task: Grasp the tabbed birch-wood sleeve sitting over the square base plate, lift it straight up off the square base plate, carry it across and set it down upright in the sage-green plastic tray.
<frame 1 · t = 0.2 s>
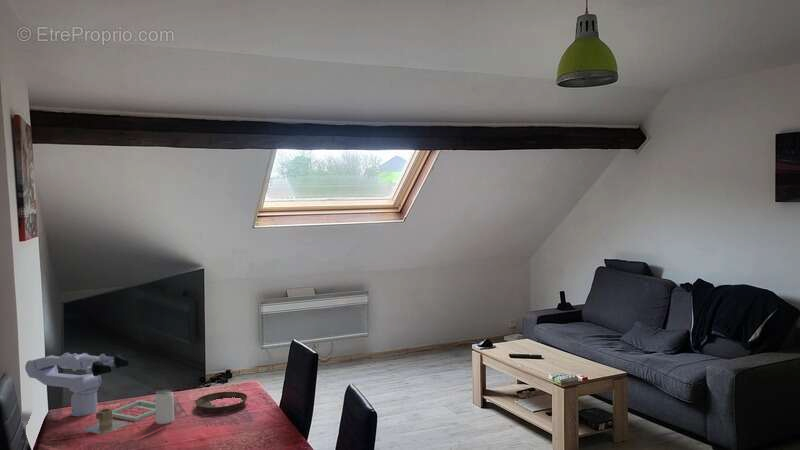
hand: (119, 366, 229), 21 cm above the table, tool horizontal, fingers open, 7 cm apart
square base plate: (106, 428, 221), on the table
plant saucer: (221, 407, 244), on the table
can: (165, 423, 226), on the table
tray: (137, 413, 237), on the table
sleeve: (106, 426, 221), point 1 cm above the table, touching square base plate
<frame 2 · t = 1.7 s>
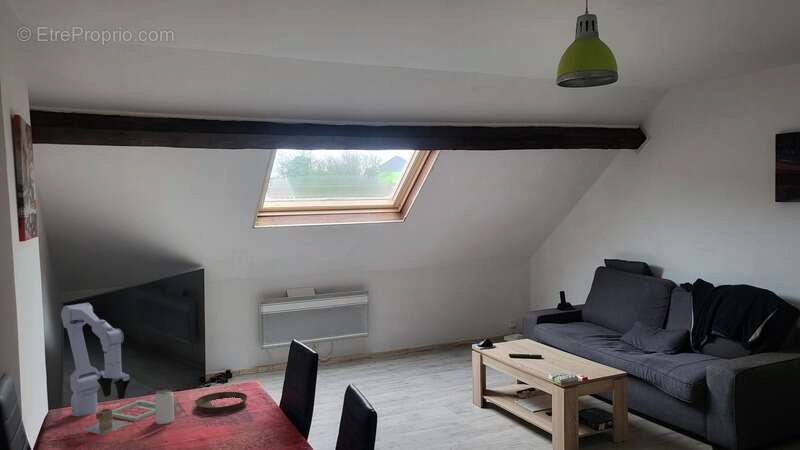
hand: (114, 397, 227), 10 cm above the table, tool pointing down, fingers open, 7 cm apart
nothing on the table moved.
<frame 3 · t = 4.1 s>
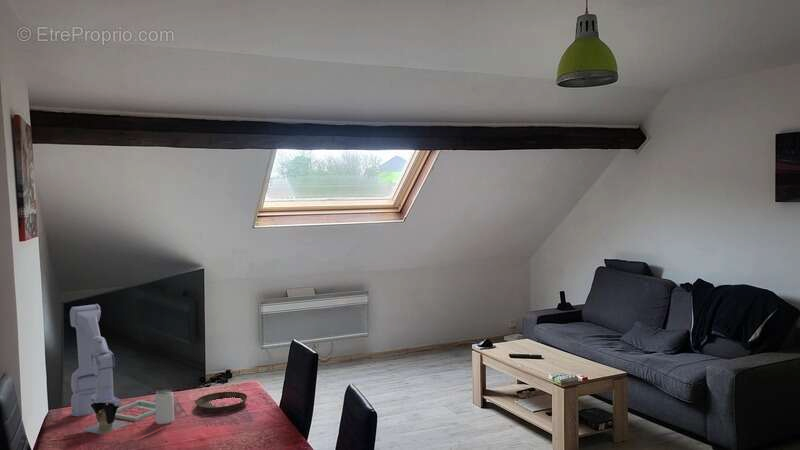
hand: (105, 422, 221), 2 cm above the table, tool pointing down, fingers closed on sleeve, 4 cm apart
sleeve: (106, 426, 221), point 1 cm above the table, touching gripper, square base plate
everything else where it was.
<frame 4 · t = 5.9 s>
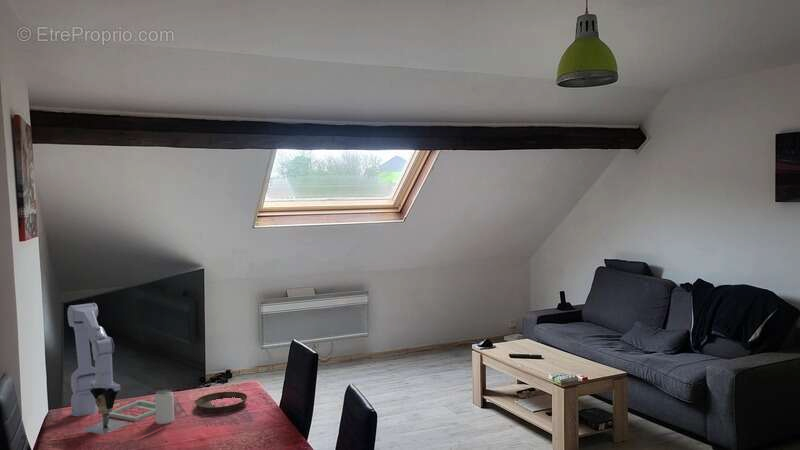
hand: (105, 407, 221), 8 cm above the table, tool pointing down, fingers closed on sleeve, 4 cm apart
sleeve: (105, 411, 221), point 6 cm above the table, touching gripper
everything else where it was.
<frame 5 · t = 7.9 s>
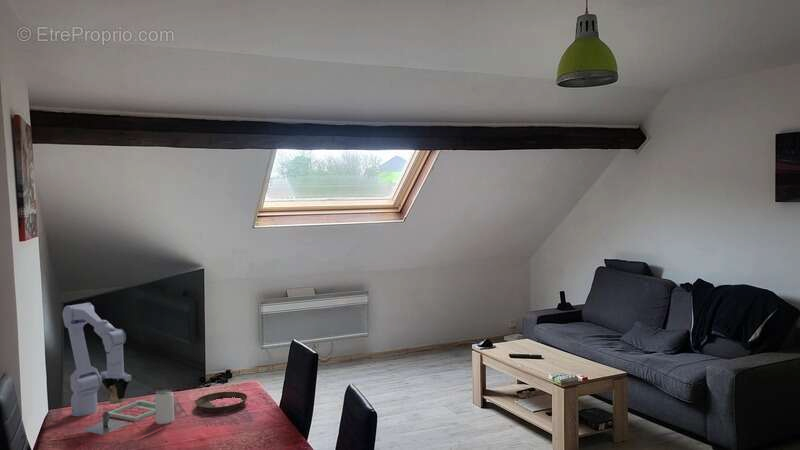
hand: (116, 397, 226), 10 cm above the table, tool pointing down, fingers closed on sleeve, 4 cm apart
sleeve: (116, 401, 226), point 8 cm above the table, touching gripper
everything else where it was.
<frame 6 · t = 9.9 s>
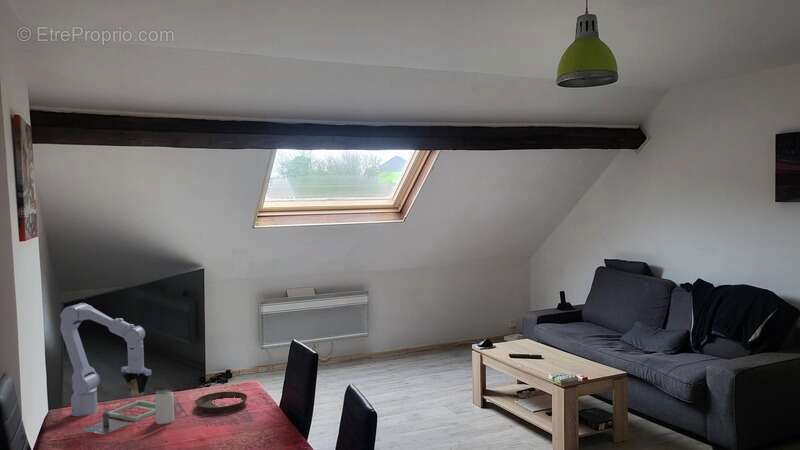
hand: (137, 391, 236), 9 cm above the table, tool pointing down, fingers closed on sleeve, 4 cm apart
sleeve: (137, 395, 236), point 7 cm above the table, touching gripper
everything else where it was.
when the fingers open (4 cm above the table, at t = 11.8 s): sleeve drops 1 cm, resting on tray.
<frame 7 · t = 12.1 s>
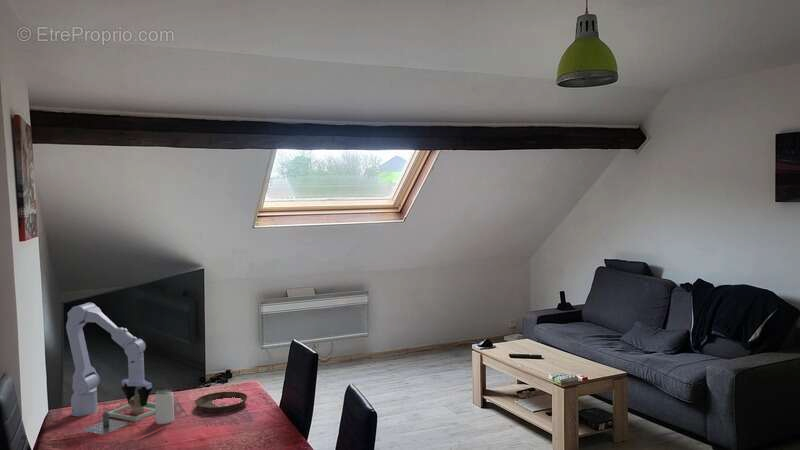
hand: (137, 404, 237), 4 cm above the table, tool pointing down, fingers open, 6 cm apart
sleeve: (137, 412, 237), point 1 cm above the table, touching tray
everything else where it was.
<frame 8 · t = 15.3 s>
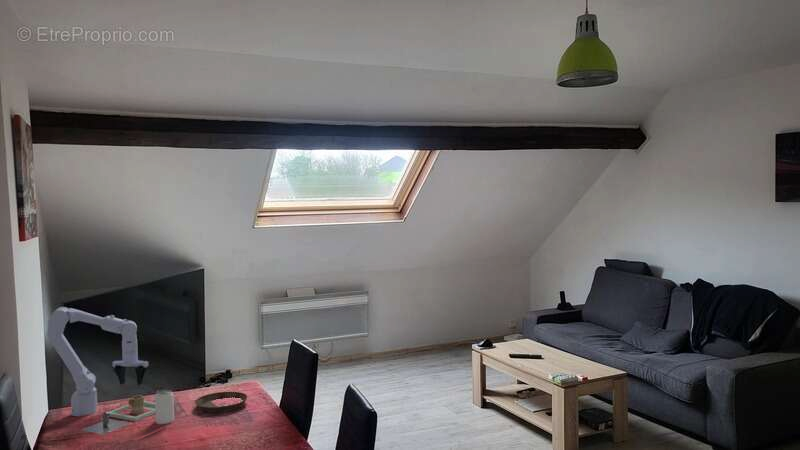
hand: (131, 384, 243), 10 cm above the table, tool pointing down, fingers open, 7 cm apart
nothing on the table moved.
at the end: sleeve inside the target area on the tray (0.0 cm from its centre), point 0.6 cm above the tray's base; sleeve tilted 0°; the gripper is holding nothing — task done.
